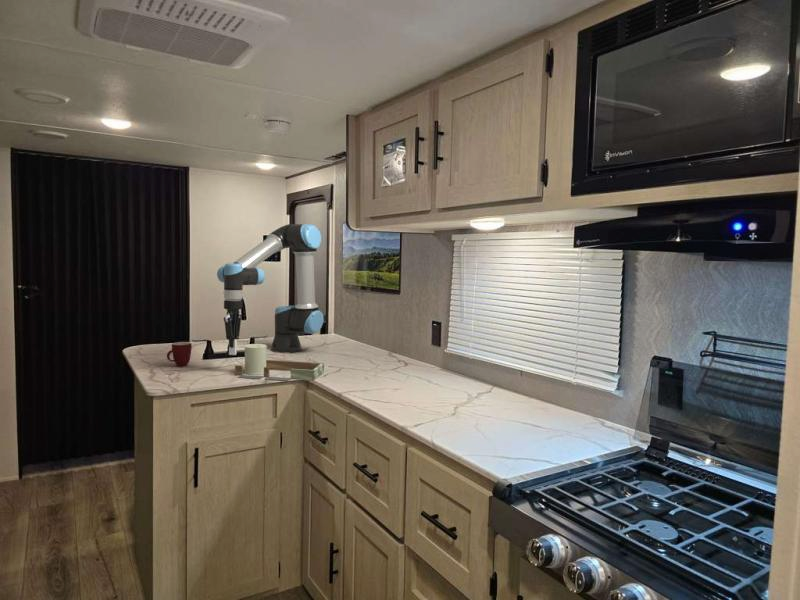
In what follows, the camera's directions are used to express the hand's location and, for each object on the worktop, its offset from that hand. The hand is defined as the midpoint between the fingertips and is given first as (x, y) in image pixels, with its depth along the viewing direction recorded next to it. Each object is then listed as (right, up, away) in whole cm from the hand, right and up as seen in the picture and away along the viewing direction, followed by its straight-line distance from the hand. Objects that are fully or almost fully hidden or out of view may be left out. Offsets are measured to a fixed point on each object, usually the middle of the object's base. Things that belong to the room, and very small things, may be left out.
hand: (232, 354), depth 230 cm
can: (+10, -8, 0) cm, 13 cm away
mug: (-25, -6, +7) cm, 27 cm away
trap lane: (+21, -8, -2) cm, 22 cm away
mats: (+16, -9, -10) cm, 21 cm away
